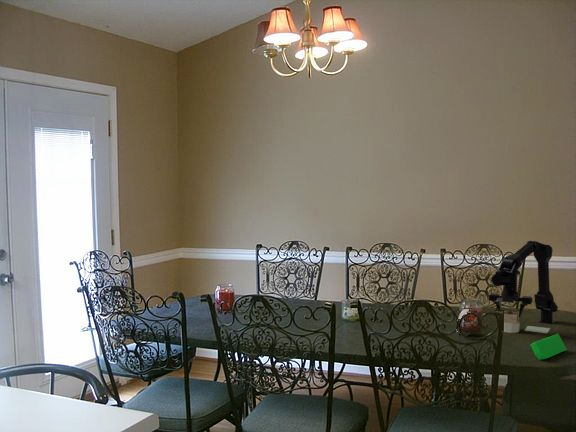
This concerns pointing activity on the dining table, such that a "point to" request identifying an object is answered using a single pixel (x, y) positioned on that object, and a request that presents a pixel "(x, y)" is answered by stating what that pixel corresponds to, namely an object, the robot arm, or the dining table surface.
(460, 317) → the figurine
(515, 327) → the bowl
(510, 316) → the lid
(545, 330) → the mat
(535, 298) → the robot arm
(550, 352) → the green rectangular block
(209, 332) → the dining table surface
